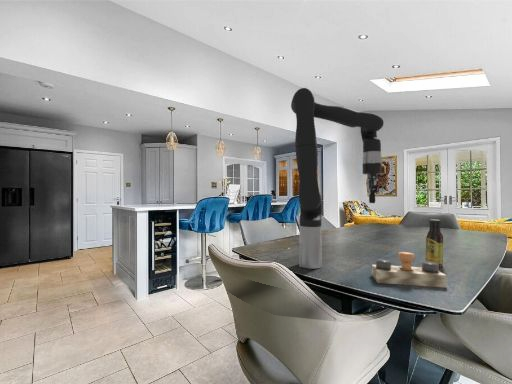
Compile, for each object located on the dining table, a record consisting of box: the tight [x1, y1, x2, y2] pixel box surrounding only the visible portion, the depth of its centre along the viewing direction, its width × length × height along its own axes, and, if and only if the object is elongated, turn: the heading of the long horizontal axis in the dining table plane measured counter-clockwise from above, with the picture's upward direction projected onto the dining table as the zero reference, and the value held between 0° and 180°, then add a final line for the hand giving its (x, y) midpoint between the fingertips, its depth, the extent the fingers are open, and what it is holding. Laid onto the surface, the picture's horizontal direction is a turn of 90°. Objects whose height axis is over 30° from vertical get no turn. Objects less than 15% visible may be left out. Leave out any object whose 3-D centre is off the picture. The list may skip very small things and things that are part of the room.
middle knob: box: [398, 251, 415, 271], centre depth 92 cm, size 5×5×6 cm
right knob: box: [421, 261, 440, 273], centre depth 90 cm, size 5×5×6 cm
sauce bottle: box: [425, 219, 444, 268], centre depth 111 cm, size 6×6×20 cm
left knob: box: [375, 258, 392, 270], centre depth 93 cm, size 5×5×6 cm
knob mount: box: [371, 264, 447, 289], centre depth 91 cm, size 21×9×4 cm, turn 77°
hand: (372, 203), depth 111 cm, fingers closed
